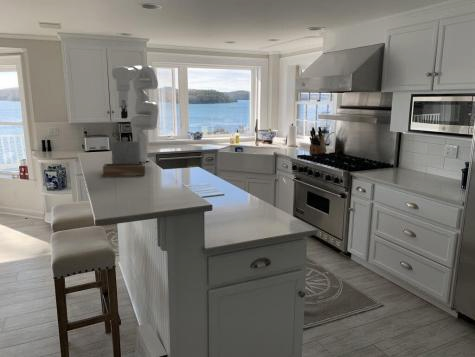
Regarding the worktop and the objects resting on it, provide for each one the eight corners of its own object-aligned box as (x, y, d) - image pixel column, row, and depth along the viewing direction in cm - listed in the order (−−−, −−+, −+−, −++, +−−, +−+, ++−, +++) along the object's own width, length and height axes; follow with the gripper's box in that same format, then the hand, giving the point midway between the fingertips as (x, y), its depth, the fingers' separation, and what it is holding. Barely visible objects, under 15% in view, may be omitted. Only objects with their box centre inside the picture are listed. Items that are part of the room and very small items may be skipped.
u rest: (105, 172, 223) (105, 163, 222) (145, 171, 228) (144, 162, 227) (103, 176, 211) (102, 167, 210) (144, 175, 217) (144, 166, 215)
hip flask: (139, 168, 237) (138, 137, 232) (139, 169, 233) (138, 137, 228) (112, 169, 231) (111, 137, 227) (112, 170, 227) (111, 138, 223)
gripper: (117, 88, 228) (119, 116, 232) (115, 88, 212) (117, 118, 216) (130, 88, 230) (131, 116, 234) (129, 88, 214) (130, 119, 217)
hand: (124, 117), depth 225 cm, fingers open, 9 cm apart
